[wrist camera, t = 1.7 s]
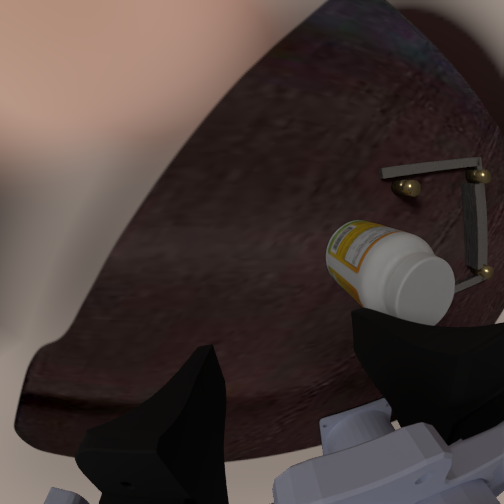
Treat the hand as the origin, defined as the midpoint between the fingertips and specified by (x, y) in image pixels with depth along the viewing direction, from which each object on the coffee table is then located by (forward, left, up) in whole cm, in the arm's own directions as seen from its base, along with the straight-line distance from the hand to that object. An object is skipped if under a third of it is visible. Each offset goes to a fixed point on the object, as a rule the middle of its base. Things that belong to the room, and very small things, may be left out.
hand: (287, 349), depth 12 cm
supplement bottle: (0, -8, -11) cm, 13 cm away
